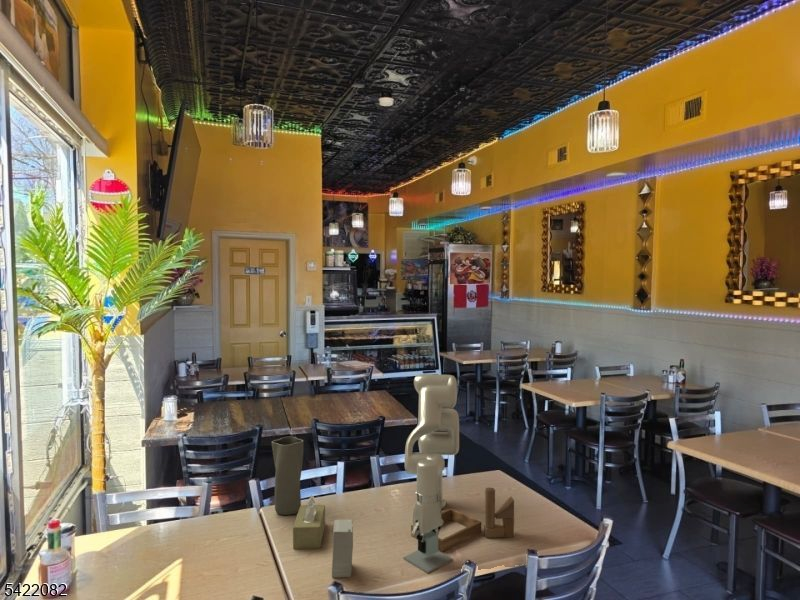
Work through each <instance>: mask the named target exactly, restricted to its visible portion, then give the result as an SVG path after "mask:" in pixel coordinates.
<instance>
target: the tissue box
mask: <svg viewBox="0 0 800 600" xmlns="http://www.w3.org/2000/svg"><path fill="white" fill-rule="evenodd" d="M315 503H316V501H315V496H314V495H312V494H311V495H310V497H309V499H308V500H307V504H306V505H301V506H300V508H299V511H298V512H297V513H296V518H295V521H294V524H293V526H292V549H293V550H300V549H301V550H303V549H306V550H307V549H321V545H322V540H323V537H324V531H325V527H326V505H324V504H315Z"/></svg>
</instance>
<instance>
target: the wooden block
mask: <svg viewBox="0 0 800 600" xmlns="http://www.w3.org/2000/svg"><path fill="white" fill-rule="evenodd" d="M484 490H485V492H484V493H485V497H484V500H485V501H484V503H485V507H484V508H485V511H484V512H485V514H484V517H485V518H484V519H485V520H484V523H485V524H483V534H484V536H485V538H486V539H493V538H509V537H510V538H513V537H514V536H515V500H514V498H513V497H512V496H510V497H509V498H508V499H507V500H505V502H504V503H503V504H502V505H501V506H500V507H499V508H498V509H497V510H496V488H494V487H486V488H485V489H484ZM496 520H502V522H501V523H502V524H499V523H496Z"/></svg>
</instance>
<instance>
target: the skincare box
mask: <svg viewBox="0 0 800 600" xmlns="http://www.w3.org/2000/svg"><path fill="white" fill-rule="evenodd" d="M353 523H354V520H353V519H334V521H333V530H332V531H333V534H332V535H333V538H332V541H333V542H332V563H331V566H332V567H331V578H351V577H352V568H353V551H354V550H353V548H354V524H353Z"/></svg>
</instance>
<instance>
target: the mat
mask: <svg viewBox="0 0 800 600" xmlns="http://www.w3.org/2000/svg"><path fill="white" fill-rule="evenodd" d="M402 558H403V560H404V561H406V562H408V563H409V564H412V565H413V566H415V567H416V568H417V569H419V570H421V571H423V572H424V573H426V574H430V573H431V572H434V571H435V570H437V569H439V568H441V567H442V566H445V565H446V564H448V563H450V562H452V561H453V558H452V557H450V556H449V555H448V554H445V553H444V552H440V551H438V552H436V553H434V554H432V555H430V556H426V555H424V554H423V553H421V552H419V551H418V549H417V550H415V551H413V552H412V553H409V554H407V555H404V556H403V557H402Z"/></svg>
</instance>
